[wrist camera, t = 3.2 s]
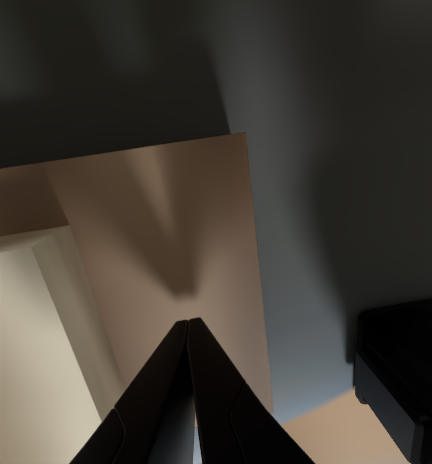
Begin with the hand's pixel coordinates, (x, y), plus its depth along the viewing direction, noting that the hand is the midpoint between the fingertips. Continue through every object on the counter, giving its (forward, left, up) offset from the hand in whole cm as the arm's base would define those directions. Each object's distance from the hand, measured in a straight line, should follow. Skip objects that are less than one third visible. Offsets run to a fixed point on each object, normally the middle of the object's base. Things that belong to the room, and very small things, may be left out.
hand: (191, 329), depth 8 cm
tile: (+6, 0, -1) cm, 6 cm away
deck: (+4, 0, -4) cm, 6 cm away
